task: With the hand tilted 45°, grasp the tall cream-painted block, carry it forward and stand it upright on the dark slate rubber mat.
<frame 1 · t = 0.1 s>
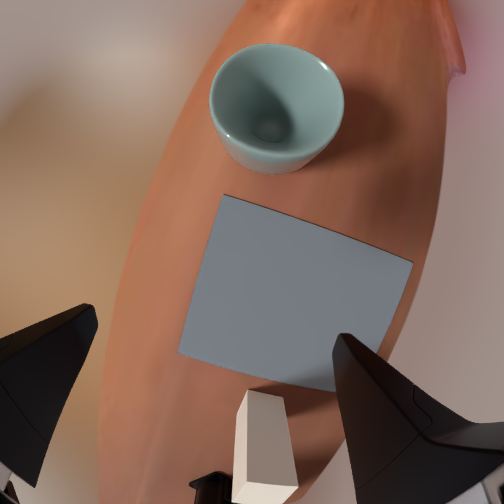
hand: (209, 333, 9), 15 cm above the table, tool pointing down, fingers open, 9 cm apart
cup: (267, 140, 23), on the table
block: (259, 406, 26), on the table
slate mat: (300, 311, 25), on the table
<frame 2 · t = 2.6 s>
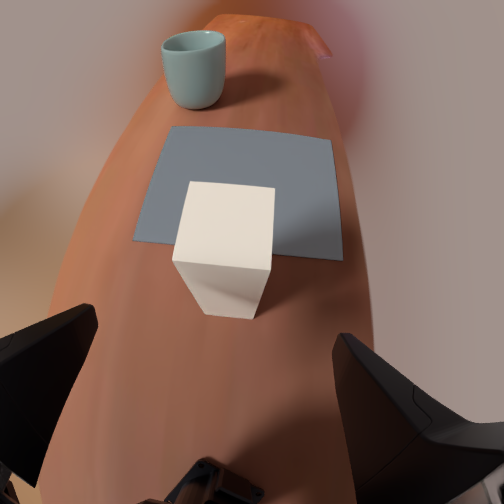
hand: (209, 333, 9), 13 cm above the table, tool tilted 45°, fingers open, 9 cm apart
cup: (198, 101, 33), on the table
block: (231, 293, 23), on the table
slate mat: (244, 179, 28), on the table
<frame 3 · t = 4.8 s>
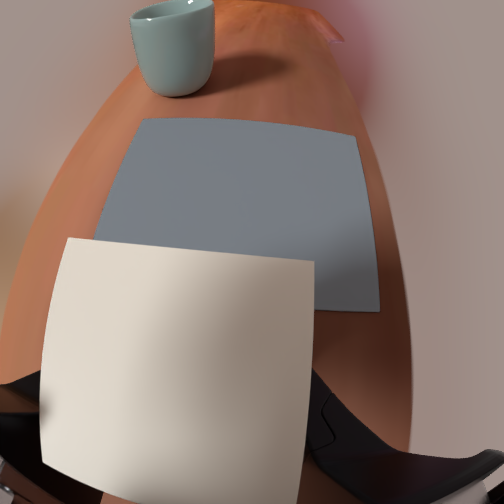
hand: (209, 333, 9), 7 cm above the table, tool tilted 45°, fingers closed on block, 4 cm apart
cup: (180, 88, 25), on the table
block: (218, 369, 14), on the table, touching gripper
slate mat: (238, 191, 19), on the table
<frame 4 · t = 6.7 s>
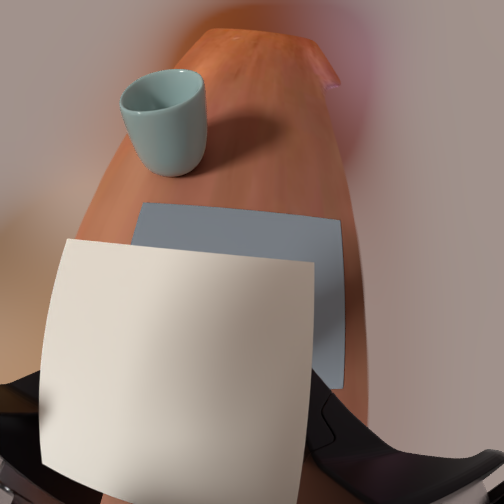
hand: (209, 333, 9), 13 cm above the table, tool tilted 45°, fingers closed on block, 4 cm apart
cup: (176, 162, 29), on the table
block: (218, 369, 14), point 6 cm above the table, touching gripper
slate mat: (231, 290, 23), on the table
when the fingers open (8 cm above the table, at t = 8.7 s): block drops 1 cm, resting on slate mat.
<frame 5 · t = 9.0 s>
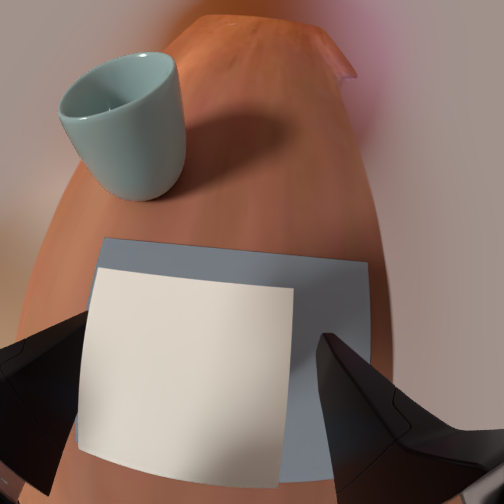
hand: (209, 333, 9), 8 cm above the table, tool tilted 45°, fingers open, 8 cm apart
cup: (149, 178, 21), on the table
block: (219, 368, 16), resting on slate mat
slate mat: (219, 368, 16), on the table
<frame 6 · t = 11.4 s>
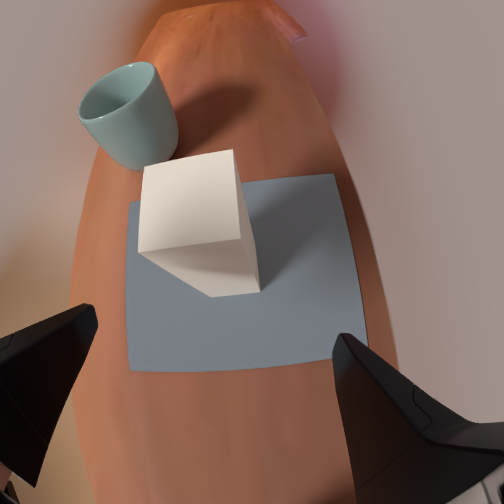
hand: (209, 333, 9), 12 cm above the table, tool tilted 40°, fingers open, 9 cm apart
cup: (154, 153, 27), on the table
block: (233, 270, 22), resting on slate mat
slate mat: (233, 270, 22), on the table
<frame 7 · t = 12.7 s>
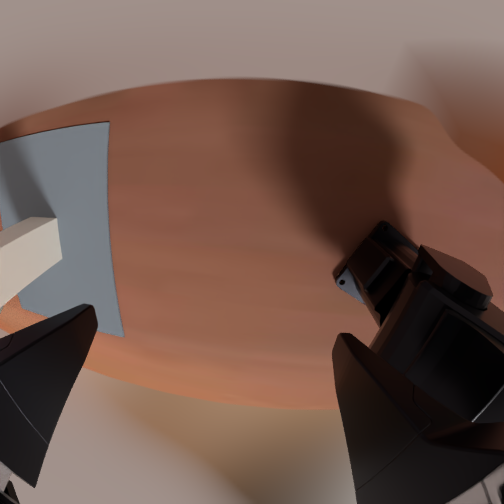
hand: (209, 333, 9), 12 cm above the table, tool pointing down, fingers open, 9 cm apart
block: (45, 237, 20), resting on slate mat
slate mat: (46, 236, 21), on the table
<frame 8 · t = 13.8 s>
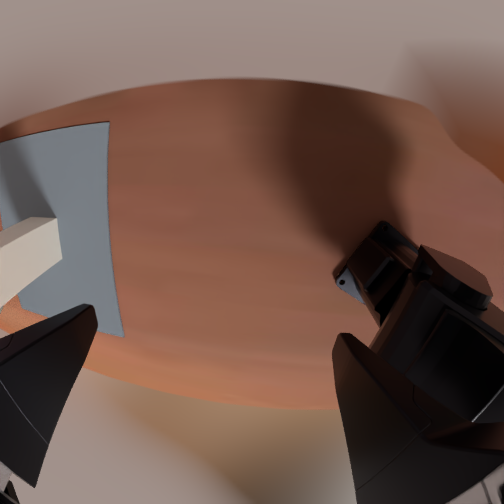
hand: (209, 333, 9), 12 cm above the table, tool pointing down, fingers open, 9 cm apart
block: (45, 237, 20), resting on slate mat
slate mat: (46, 236, 20), on the table
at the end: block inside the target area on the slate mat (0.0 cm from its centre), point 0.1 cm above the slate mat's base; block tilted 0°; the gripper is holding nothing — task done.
